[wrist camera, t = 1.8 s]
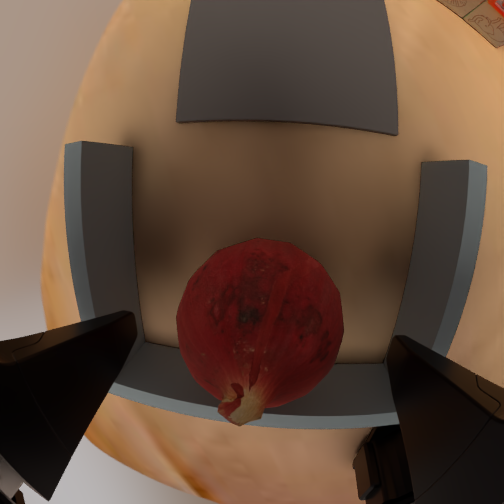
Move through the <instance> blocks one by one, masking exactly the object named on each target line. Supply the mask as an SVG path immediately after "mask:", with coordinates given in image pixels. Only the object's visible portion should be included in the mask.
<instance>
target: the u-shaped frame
mask: <svg viewBox="0 0 504 504" xmlns="http://www.w3.org/2000/svg"><path fill="white" fill-rule="evenodd" d="M132 155H133V147H129V146H122V145H114V144H106V143H97V142H88V141H79V142H74V143H70V144H65V155H64V203H65V221H66V233H67V243H68V252H69V259H70V266H71V273H72V279H73V285H74V290H75V295H76V300H77V305H78V310H79V314H80V318H81V322H82V321H86V320H90V319H93V318H97V317H100V316H104V315H108V314H111V313H115V312H118V311H122V310H126V311H131V312H133V313H134V314H135V318H136V324H137V330H138V336H137V339H136V341H135V343H134V345H133V347H132V349H131V351H130V354H129V356H128V358H127V360H126V362H125V364H124V366H123V368H122V370H121V372H120V373H119V375H118V377H117V378H116V380H115V382H114V383H113V385H112V387H111V388H110V390H109V392H108V393H111V394H114V395H117V396H120V397H123V398H126V399H129V400H132V401H135V402H138V403H142V404H145V405H149V406H152V407H156V408H160V409H164V410H168V411H172V412H176V413H180V414H185V415H189V416H194V417H199V418H205V419H210V420H216V421H222V422H229V421H228V420H227V419H225V418H224V417H223V416H222V415H220V414H219V413H218V412H217V411H218V406H219V404H220V403H221V402H222V401H221V400H218V399H217V398H216V397H214V396H213V395H212V394H210V393H209V392H208V391H206V390H205V389H204V388H203V387H201V386H200V385H199V384H198V383H197V382H196V381H195V379H194V378H193V377H192V375H191V373H190V371H189V369H188V367H187V365H186V363H185V361H184V359H183V357H182V355H181V353H180V349H178V348H173V347H167V346H162V345H157V344H152V343H148V342H145V338H144V332H143V325H142V319H141V312H140V304H139V296H138V288H137V278H136V268H135V256H134V241H133V221H132ZM486 186H487V166H486V165H483V164H481V163H478V162H474V161H471V160H451V161H433V162H422V164H421V183H420V196H419V206H418V215H417V224H416V231H415V238H414V244H413V250H412V256H411V261H410V267H409V272H408V277H407V281H406V286H405V290H404V294H403V299H402V303H401V307H400V310H399V314H398V318H397V321H396V325H395V328H394V332H393V335H392V338H393V336H395V335H406V336H408V337H409V338H411V339H413V340H415V341H417V342H419V343H420V344H422V345H424V346H426V347H428V348H430V349H431V350H433V351H435V352H437V353H439V354H440V355H442V356H444V357H446V355H447V353H448V350H449V348H450V345H451V343H452V340H453V338H454V335H455V332H456V330H457V327H458V324H459V321H460V318H461V315H462V312H463V309H464V306H465V303H466V299H467V296H468V292H469V289H470V285H471V281H472V277H473V273H474V269H475V264H476V260H477V255H478V250H479V244H480V238H481V232H482V225H483V218H484V209H485V199H486ZM392 338H391V340H392ZM390 344H391V342H390ZM389 347H390V345H389ZM388 350H389V348H388ZM387 353H388V351H387ZM386 356H387V354H386ZM229 423H231V422H229ZM394 424H399V420H398V416H397V412H396V408H395V405H394V401H393V397H392V392H391V386H390V380H389V374H388V368H387V363H386V357H385V360H384V363H380V364H334V366H333V367H332V369H331V370H330V371H329V373H328V374H327V375H326V376H325V377H324V378H323V379H322V380H321V381H320V382H319V383H318V384H317V386H316V387H315V388H314V389H313V390H312V391H310V392H309V393H308V394H306V395H305V396H303V397H300V398H298V399H296V400H293V401H291V402H288V403H286V404H283V405H281V406H278V407H271V408H265V409H264V412H263V415H262V418H261V419H259V420H255V421H251V422H248V423H246V424H244V425H252V426H262V427H275V428H292V429H348V428H364V427H376V426H386V425H394Z"/></svg>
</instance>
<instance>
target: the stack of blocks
mask: <svg viewBox="0 0 504 504" xmlns="http://www.w3.org/2000/svg"><path fill="white" fill-rule="evenodd" d="M438 1H439V2H441V3H442V4H444V5H445V6H447V7H448V8H449V9H451V10H452V11H454V12H455V13H456V14H457V15H459V16H460V17H462V18H463V19H464V20H465V21H466V22H467V23H468V24H470V25H471V26H472V27H473V28H475V29H476V30H477V31H478V32H479V33H480V34H482V35H483V36H484V37H485V38H486V39H487V40H488V41H489V42H490V43H491V44H492V45H494V46H495V47H496V48H498V47H500V46H502V45H504V0H438Z"/></svg>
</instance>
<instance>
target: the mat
mask: <svg viewBox="0 0 504 504" xmlns="http://www.w3.org/2000/svg"><path fill="white" fill-rule="evenodd" d="M210 121H270V122H290V123H304V124H316V125H326V126H335V127H343V128H350V129H357V130H364V131H370V132H376V133H381V134H387V135H392V136H397V135H398V103H397V86H396V73H395V63H394V54H393V47H392V40H391V33H390V27H389V22H388V16H387V11H386V7H385V2H384V0H191V4H190V9H189V15H188V20H187V27H186V33H185V40H184V47H183V54H182V62H181V70H180V79H179V89H178V100H177V113H176V122H177V123H190V122H210Z"/></svg>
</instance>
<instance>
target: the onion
mask: <svg viewBox="0 0 504 504" xmlns="http://www.w3.org/2000/svg"><path fill="white" fill-rule="evenodd" d="M176 321H177V332H178V341H179V348H180V353H181V355H182V357H183V359H184V361H185V363H186V365H187V367H188V369H189V371H190V373H191V375H192V377H193V378H194V379H195V381H196V382H197V383H198V384H199V385H200V386H201V387H203V388H204V389H205V390H206V391H208V392H209V393H210V394H212V395H213V396H214V397H216V398H217V399H218V400H221V401H222V402H221V403H220V404H219V406H218V411H217V412H218V413H219V414H220V415H222V416H223V417H224V418H225V419H227V420H228V421H229V422H231V423H233V424H235V425H238V426H242V425H244V424H246V423H248V422H251V421H255V420H259V419H261V418H262V415H263V412H264V409H265V408H271V407H278V406H281V405H283V404H286V403H288V402H291V401H293V400H296V399H298V398H300V397H303V396H305V395H306V394H308V393H309V392H310V391H312V390H313V389H314V388H315V387H316V386H317V384H318V383H319V382H320V381H321V380H322V379H323V378H324V377H325V376H326V375H327V374H328V373H329V371H330V370H331V369H332V367H333V366H334V364H335V361H336V358H337V355H338V352H339V348H340V345H341V342H342V338H343V334H344V325H343V315H342V306H341V297H340V292H339V291H338V289H337V288H336V286H335V284H334V283H333V281H332V280H331V278H330V277H329V275H328V274H327V272H326V270H325V269H324V267H323V266H322V265H321V264H320V263H319V262H318V261H317V260H315V259H314V258H312V257H311V256H309V255H308V254H306V253H305V252H303V251H302V250H301V249H299V248H298V247H296V246H295V245H293V244H292V243H289V242H282V241H275V240H268V239H261V238H255V239H252V240H249V241H245V242H242V243H239V244H236V245H233V246H230V247H227V248H223V249H220V250H218V251H216V252H215V253H214V254H213V255H212V256H211V257H210V258H209V259H208V260H207V261H206V262H205V263H204V264H203V265H202V266H201V267H200V268H199V269H198V270H197V271H196V272H195V273H194V275H193V276H192V277H191V278H190V280H189V281H188V284H187V286H186V289H185V291H184V294H183V297H182V299H181V302H180V304H179V307H178V311H177V316H176Z"/></svg>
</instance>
